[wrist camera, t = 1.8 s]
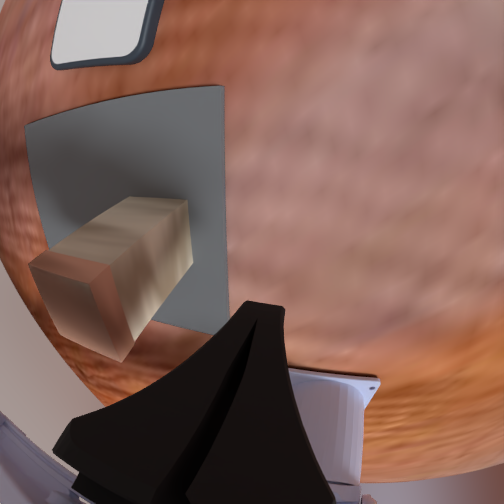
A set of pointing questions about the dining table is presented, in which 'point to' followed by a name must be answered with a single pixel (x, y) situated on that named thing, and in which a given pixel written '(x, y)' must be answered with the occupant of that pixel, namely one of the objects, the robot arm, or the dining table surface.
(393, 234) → the dining table surface
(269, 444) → the robot arm
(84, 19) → the phone case
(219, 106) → the rubber mat
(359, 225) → the dining table surface
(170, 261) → the maple block
